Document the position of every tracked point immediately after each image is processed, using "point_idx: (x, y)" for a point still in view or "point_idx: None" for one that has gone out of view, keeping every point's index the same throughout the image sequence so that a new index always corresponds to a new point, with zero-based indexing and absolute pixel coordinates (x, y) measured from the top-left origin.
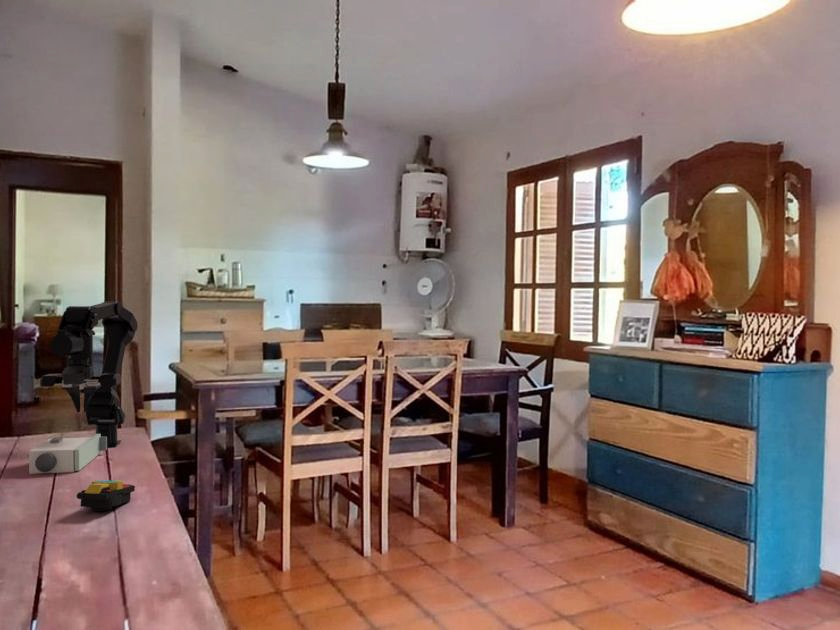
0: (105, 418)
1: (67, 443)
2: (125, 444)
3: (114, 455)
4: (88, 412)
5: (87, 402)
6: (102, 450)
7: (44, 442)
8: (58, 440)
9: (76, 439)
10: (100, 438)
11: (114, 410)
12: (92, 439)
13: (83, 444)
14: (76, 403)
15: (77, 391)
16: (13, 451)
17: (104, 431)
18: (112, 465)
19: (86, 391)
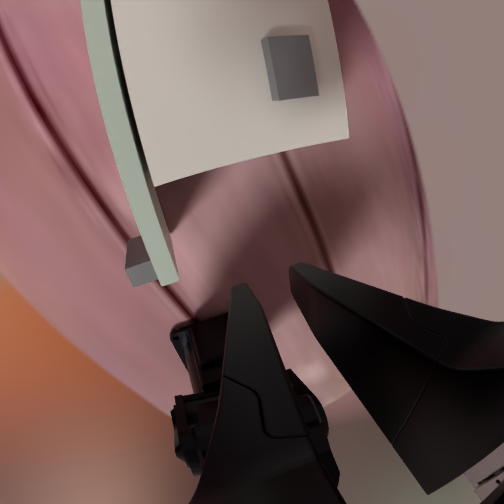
0: (218, 400)
1: (203, 27)
2: (163, 362)
3: (89, 228)
4: (299, 395)
5: (228, 353)
6: (140, 236)
7: (334, 58)
8: (266, 38)
9: (205, 128)
10: (148, 259)
11: (183, 440)
12: (111, 144)
13: (95, 18)
14: (348, 299)
15: (421, 429)
16: (421, 226)
17: (211, 357)
18: (11, 85)
19: (281, 492)
